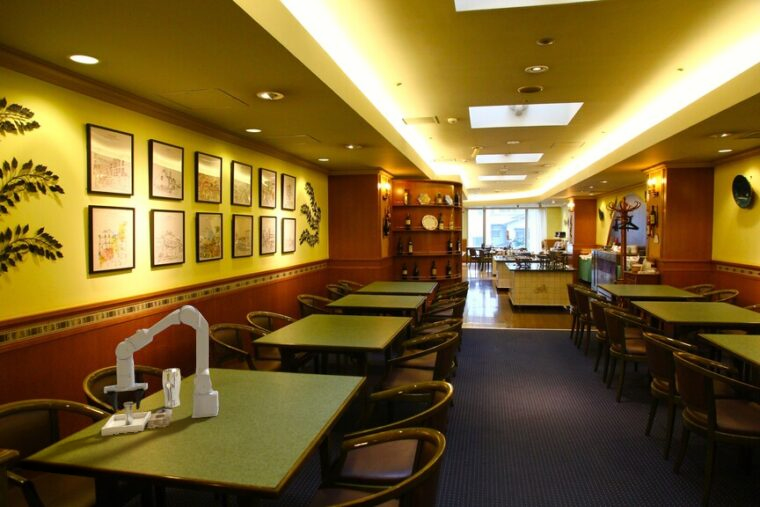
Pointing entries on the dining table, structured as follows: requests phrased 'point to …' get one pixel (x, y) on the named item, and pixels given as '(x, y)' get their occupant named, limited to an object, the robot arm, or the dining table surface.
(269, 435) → the dining table surface
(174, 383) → the beer glass
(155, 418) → the block
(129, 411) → the pin
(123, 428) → the tray
